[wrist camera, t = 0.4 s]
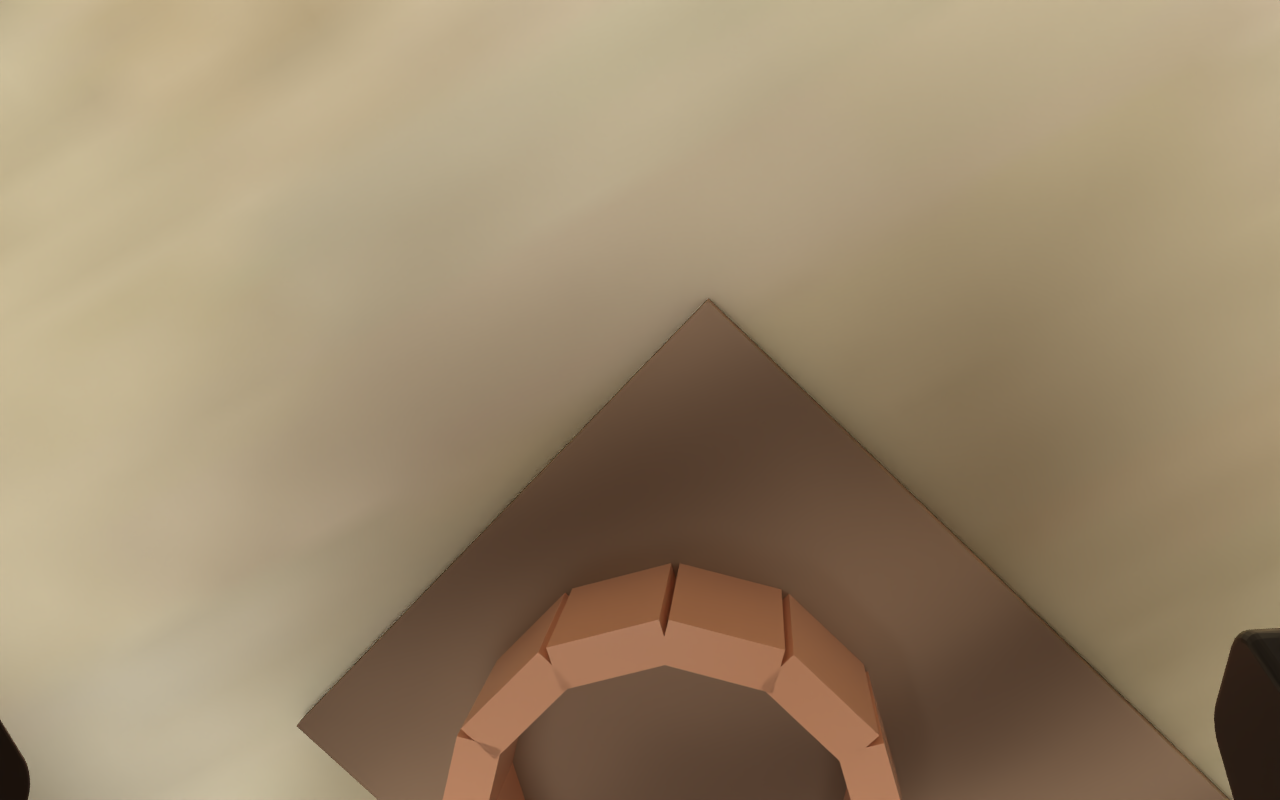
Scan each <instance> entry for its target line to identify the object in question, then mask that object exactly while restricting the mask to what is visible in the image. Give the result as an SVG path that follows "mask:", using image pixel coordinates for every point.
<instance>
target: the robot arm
mask: <svg viewBox="0 0 1280 800" xmlns="http://www.w3.org/2000/svg"><path fill="white" fill-rule="evenodd" d="M1214 722H1215V732H1216V738H1217V742H1218V746H1219V750H1220V753H1221V756H1222V760H1223V763H1224V767H1225V770H1226V774H1227V777H1228V781H1229V784H1230V788H1231V791H1232V795H1233V798H1234V800H1280V628H1272V629H1253V630H1246V631H1242V632H1241V633H1240V634H1239V635H1238V636H1237V637H1236V638H1235V639H1234V642H1233V644H1232V646H1231V650H1230V654H1229V657H1228V661H1227V665H1226V668H1225V672H1224V676H1223V679H1222V683H1221V687H1220V690H1219V694H1218V698H1217V701H1216V706H1215V714H1214ZM29 788H30V777H29V770H28V766H27V763H26V761H25V759H24V757H23V756H22V754H21V752H20V751H19V749H18V748H17V746H16V744H15V743H14V741H13V739H12V738H11V736H10V735H9V733H8V731H7V730H6V728H5V726H4V725H3V723H2V722H1V720H0V800H28V796H29Z"/></svg>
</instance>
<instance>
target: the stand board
mask: <svg viewBox="0 0 1280 800" xmlns="http://www.w3.org/2000/svg"><path fill="white" fill-rule="evenodd" d="M670 563H671V564H672V568H673V571H674V574H675V578H676V576H677V572H678V568H679V564H680V563H681V564H685V565H689V566H693V567H696V568H700V569H704V570H708V571H712V572H716V573H720V574H724V575H727V576H731V577H735V578H739V579H743V580H747V581H751V582H755V583H758V584H762V585H766V586H770V587H774V588H778V589H781V590H782V600H783V599H784V598H785V597H786V596H787V595H788V594H790V595H791V596H792V597H793V598H794V599H795V600H796V601H797V602H798V603H799V604H801V605H802V606H803V607H804V608H805V609H806V610H807V611H808V612H809V613H810V614H811V615H812V616H813V617H814V618H815V619H816V620H817V621H819V622H820V623H821V624H822V625H823V626H824V627H825V628H826V629H827V630H828V631H829V632H830V633H831V634H832V635H833V636H834V637H835V638H836V639H838V640H839V641H840V642H841V643H842V644H843V645H844V646H845V647H846V648H847V649H848V650H849V651H850V652H851V653H852V654H853V655H854V656H855V657H857V658H858V659H859V660H860V661H861V662H862V663H863V664H864V668H865V672H868V673H869V676H870V680H871V683H872V687H873V691H874V694H875V698H876V701H877V705H878V708H879V712H880V715H881V719H882V723H883V726H884V730H885V733H886V737H887V740H888V744H889V748H890V751H891V755H892V758H893V762H894V765H895V770H896V774H897V778H898V782H899V787H900V791H901V795H902V800H1229V799H1228V798H1227V797H1226V796H1225V795H1224V794H1223V793H1222V792H1221V791H1220V790H1219V789H1218V788H1217V787H1216V786H1215V785H1214V784H1213V783H1212V782H1211V781H1210V780H1209V779H1208V778H1207V777H1206V776H1205V775H1203V774H1202V773H1201V772H1200V771H1199V770H1198V769H1197V768H1196V767H1195V766H1194V765H1193V764H1192V763H1191V762H1190V761H1189V760H1188V759H1187V758H1186V757H1185V756H1184V755H1183V754H1182V753H1181V752H1180V751H1179V750H1177V749H1176V748H1175V747H1174V746H1173V745H1172V744H1171V743H1170V742H1169V741H1168V740H1167V739H1166V738H1165V737H1164V736H1163V735H1162V734H1161V733H1160V732H1159V731H1158V730H1157V729H1156V728H1155V727H1154V726H1153V725H1151V724H1150V723H1149V722H1148V721H1147V720H1146V719H1145V718H1144V717H1143V716H1142V715H1141V714H1140V713H1139V712H1138V711H1137V710H1136V709H1135V708H1134V707H1133V706H1132V705H1131V704H1130V703H1129V702H1128V701H1127V700H1125V699H1124V698H1123V697H1122V696H1121V695H1120V694H1119V693H1118V692H1117V691H1116V690H1115V689H1114V688H1113V687H1112V686H1111V685H1110V684H1109V683H1108V682H1107V681H1106V680H1105V679H1104V678H1103V677H1102V676H1101V675H1099V674H1098V673H1097V672H1096V671H1095V670H1094V669H1093V668H1092V667H1091V666H1090V665H1089V664H1088V663H1087V662H1086V661H1085V660H1084V659H1083V658H1082V657H1081V656H1080V655H1079V654H1078V653H1077V652H1076V651H1075V650H1073V649H1072V648H1071V647H1070V646H1069V645H1068V644H1067V643H1066V642H1065V641H1064V640H1063V639H1062V638H1061V637H1060V636H1059V635H1058V634H1057V633H1056V632H1055V631H1054V630H1053V629H1052V628H1051V627H1050V626H1049V625H1047V624H1046V623H1045V622H1044V621H1043V620H1042V619H1041V618H1040V617H1039V616H1038V615H1037V614H1036V613H1035V612H1034V611H1033V610H1032V609H1031V608H1030V607H1029V606H1028V605H1027V604H1026V603H1025V602H1024V601H1023V600H1021V599H1020V598H1019V597H1018V596H1017V595H1016V594H1015V593H1014V592H1013V591H1012V590H1011V589H1010V588H1009V587H1008V586H1007V585H1006V584H1005V583H1004V582H1003V581H1002V580H1001V579H1000V578H999V577H998V576H997V575H995V574H994V573H993V572H992V571H991V570H990V569H989V568H988V567H987V566H986V565H985V564H984V563H983V562H982V561H981V560H980V559H979V558H978V557H977V556H976V555H975V554H974V553H973V552H972V551H971V550H969V549H968V548H967V547H966V546H965V545H964V544H963V543H962V542H961V541H960V540H959V539H958V538H957V537H956V536H955V535H954V534H953V533H952V532H951V531H950V530H949V529H948V528H947V527H946V526H945V525H943V524H942V523H941V522H940V521H939V520H938V519H937V518H936V517H935V516H934V515H933V514H932V513H931V512H930V511H929V510H928V509H927V508H926V507H925V506H924V505H923V504H922V503H921V502H920V501H919V500H917V499H916V498H915V497H914V496H913V495H912V494H911V493H910V492H909V491H908V490H907V489H906V488H905V487H904V486H903V485H902V484H901V483H900V482H899V481H898V480H897V479H896V478H895V477H894V476H893V475H891V474H890V473H889V472H888V471H887V470H886V469H885V468H884V467H883V466H882V465H881V464H880V463H879V462H878V461H877V460H876V459H875V458H874V457H873V456H872V455H871V454H870V453H869V452H868V451H867V450H865V449H864V448H863V447H862V446H861V445H860V444H859V443H858V442H857V441H856V440H855V439H854V438H853V437H852V436H851V435H850V434H849V433H848V432H847V431H846V430H845V429H844V428H843V427H842V426H841V425H839V424H838V423H837V422H836V421H835V420H834V419H833V418H832V417H831V416H830V415H829V414H828V413H827V412H826V411H825V410H824V409H823V408H822V407H821V406H820V405H819V404H818V403H817V402H816V401H815V400H813V399H812V398H811V397H810V396H809V395H808V394H807V393H806V392H805V391H804V390H803V389H802V388H801V387H800V386H799V385H798V384H797V383H796V382H795V381H794V380H793V379H792V378H791V377H790V376H789V375H787V374H786V373H785V372H784V371H783V370H782V369H781V368H780V367H779V366H778V365H777V364H776V363H775V362H774V361H773V360H772V359H771V358H770V357H769V356H768V355H767V354H766V353H765V352H764V351H763V350H761V349H760V348H759V347H758V346H757V345H756V344H755V343H754V342H753V341H752V340H751V339H750V338H749V337H748V336H747V335H746V334H745V333H744V332H743V331H742V330H741V329H740V328H739V327H738V326H737V325H735V324H734V323H733V322H732V321H731V320H730V319H729V318H728V317H727V316H726V315H725V314H724V313H723V312H722V311H721V310H720V309H719V308H718V307H717V306H716V305H715V304H714V303H713V302H712V301H711V300H709V299H708V300H707V301H706V302H705V303H704V304H703V305H702V306H701V307H700V308H699V309H698V310H697V311H696V312H695V313H694V314H693V315H692V316H691V317H690V318H689V319H688V320H687V321H686V322H685V323H684V324H683V325H682V326H681V327H680V328H679V330H678V331H677V332H676V333H675V334H674V335H673V336H672V337H671V338H670V339H669V340H668V341H667V342H666V343H665V344H664V345H663V346H662V347H661V348H660V349H659V350H658V351H657V352H656V353H655V354H654V355H653V356H652V357H651V358H650V360H649V361H648V362H647V363H646V364H645V365H644V366H643V367H642V368H641V369H640V370H639V371H638V372H637V373H636V374H635V375H634V376H633V377H632V378H631V379H630V380H629V381H628V382H627V383H626V384H625V385H624V386H623V387H622V388H621V390H620V391H619V392H618V393H617V394H616V395H615V396H614V397H613V398H612V399H611V400H610V401H609V402H608V403H607V404H606V405H605V406H604V407H603V408H602V409H601V410H600V411H599V412H598V413H597V414H596V415H595V416H594V417H593V418H592V420H591V421H590V422H589V423H588V424H587V425H586V426H585V427H584V428H583V429H582V430H581V431H580V432H579V433H578V434H577V435H576V436H575V437H574V438H573V439H572V440H571V441H570V442H569V443H568V444H567V445H566V446H565V447H564V448H563V450H562V451H561V452H560V453H559V454H558V455H557V456H556V457H555V458H554V459H553V460H552V461H551V462H550V463H549V464H548V465H547V466H546V467H545V468H544V469H543V470H542V471H541V472H540V473H539V474H538V475H537V476H536V477H535V478H534V480H533V481H532V482H531V483H530V484H529V485H528V486H527V487H526V488H525V489H524V490H523V491H522V492H521V493H520V494H519V495H518V496H517V497H516V498H515V499H514V500H513V501H512V502H511V503H510V504H509V505H508V506H507V507H506V508H505V510H504V511H503V512H502V513H501V514H500V515H499V516H498V517H497V518H496V519H495V520H494V521H493V522H492V523H491V524H490V525H489V526H488V527H487V528H486V529H485V530H484V531H483V532H482V533H481V534H480V535H479V536H478V537H477V538H476V540H475V541H474V542H473V543H472V544H471V545H470V546H469V547H468V548H467V549H466V550H465V551H464V552H463V553H462V554H461V555H460V556H459V557H458V558H457V559H456V560H455V561H454V562H453V563H452V564H451V565H450V566H449V567H448V568H447V570H446V571H445V572H444V573H443V574H442V575H441V576H440V577H439V578H438V579H437V580H436V581H435V582H434V583H433V584H432V585H431V586H430V587H429V588H428V589H427V590H426V591H425V592H424V593H423V594H422V595H421V596H420V597H419V598H418V600H417V601H416V602H415V603H414V604H413V605H412V606H411V607H410V608H409V609H408V610H407V611H406V612H405V613H404V614H403V615H402V616H401V617H400V618H399V619H398V620H397V621H396V622H395V623H394V624H393V625H392V626H391V627H390V628H389V630H388V631H387V632H386V633H385V634H384V635H383V636H382V637H381V638H380V639H379V640H378V641H377V642H376V643H375V644H374V645H373V646H372V647H371V648H370V649H369V650H368V651H367V652H366V653H365V654H364V655H363V656H362V657H361V658H360V660H359V661H358V662H357V663H356V664H355V665H354V666H353V667H352V668H351V669H350V670H349V671H348V672H347V673H346V674H345V675H344V676H343V677H342V678H341V679H340V680H339V681H338V682H337V683H336V684H335V685H334V686H333V687H332V688H331V690H330V691H329V692H328V693H327V694H326V695H325V696H324V697H323V698H322V699H321V700H320V701H319V702H318V703H317V704H316V705H315V706H314V707H313V708H312V709H311V710H310V711H309V712H308V713H307V714H306V715H305V716H304V718H303V719H302V720H301V721H300V722H299V724H298V725H297V727H298V728H299V729H301V730H302V731H303V732H304V733H305V734H306V735H307V736H308V737H309V738H310V739H312V740H313V741H314V742H315V743H316V744H317V745H318V746H319V747H320V748H321V749H323V750H324V751H325V752H326V753H327V754H328V755H329V756H330V757H331V758H333V759H334V760H335V761H336V762H337V763H338V764H339V765H340V766H341V767H342V768H344V769H345V770H346V771H347V772H348V773H349V774H350V775H351V776H352V777H353V778H355V779H356V780H357V781H358V782H359V783H360V784H361V785H362V786H363V787H364V788H366V789H367V790H368V791H369V792H370V793H371V794H372V795H373V796H374V797H376V798H377V799H378V800H443V796H444V791H445V787H446V782H447V778H448V773H449V769H450V765H451V760H452V756H453V751H454V747H455V742H456V738H457V735H458V733H459V731H460V729H461V727H462V726H463V724H464V722H465V720H466V718H467V716H468V714H469V712H470V710H471V709H472V707H473V705H474V703H475V701H476V699H477V697H478V695H479V693H480V692H481V690H482V688H483V686H484V684H485V682H486V680H487V678H488V676H489V675H490V673H491V671H492V669H493V667H494V665H495V664H496V662H497V660H498V659H499V658H500V657H501V656H502V655H503V654H504V653H505V652H506V651H507V650H508V649H509V648H510V647H511V646H512V645H513V644H514V643H515V642H516V641H517V640H518V639H519V638H520V637H521V636H522V635H523V634H524V633H525V632H526V631H527V630H528V629H529V628H530V627H531V626H532V625H533V624H534V623H535V622H536V621H537V620H538V619H539V618H540V617H541V616H542V615H543V614H544V613H545V612H546V611H547V610H548V609H549V608H550V607H551V606H552V605H553V604H554V603H555V602H556V601H557V600H558V599H559V598H560V597H561V596H562V595H563V594H564V593H566V594H567V595H568V596H569V595H570V593H571V590H572V588H576V587H580V586H584V585H588V584H592V583H596V582H600V581H603V580H607V579H611V578H615V577H619V576H623V575H627V574H631V573H635V572H639V571H642V570H646V569H650V568H654V567H658V566H662V565H666V564H670ZM513 765H514V768H515V771H516V774H517V777H518V780H519V783H520V786H521V789H522V792H523V795H524V798H525V800H843V799H844V796H845V792H846V789H847V785H846V782H845V778H844V775H843V771H842V768H841V764H840V761H839V760H838V759H837V758H836V757H835V756H834V755H833V754H832V753H831V752H829V751H828V750H827V749H826V748H825V747H824V746H823V745H822V744H821V743H820V742H819V741H818V740H817V739H816V738H815V737H813V736H812V735H811V734H810V733H809V732H808V731H807V730H806V729H805V728H804V727H803V726H802V725H801V724H800V723H799V722H797V721H796V720H795V719H794V718H793V717H792V716H791V715H790V714H789V713H788V712H787V711H786V710H785V709H784V708H783V707H781V706H780V705H779V704H778V703H777V702H776V701H775V700H774V699H773V698H772V697H771V696H770V695H769V694H768V693H767V692H765V691H762V690H758V689H754V688H750V687H746V686H743V685H739V684H735V683H731V682H727V681H724V680H720V679H716V678H712V677H708V676H705V675H701V674H697V673H693V672H689V671H685V670H682V669H678V668H674V667H670V666H666V665H663V666H659V667H655V668H651V669H647V670H643V671H639V672H635V673H631V674H626V675H622V676H618V677H614V678H610V679H606V680H602V681H598V682H594V683H590V684H586V685H581V686H577V687H573V688H569V689H567V690H566V691H565V692H564V693H563V694H562V695H561V696H559V697H558V698H557V699H556V700H555V701H554V702H553V703H552V704H551V705H550V706H549V707H548V708H547V709H546V710H545V711H544V712H543V713H542V714H541V715H540V716H539V717H538V718H537V719H536V720H535V721H534V722H533V723H532V724H531V725H530V726H529V727H528V728H527V729H526V730H525V731H524V732H523V733H522V734H521V735H520V736H519V737H518V741H517V745H516V750H515V754H514V758H513Z"/></svg>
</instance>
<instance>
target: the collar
mask: <svg viewBox="0 0 1280 800" xmlns="http://www.w3.org/2000/svg"><path fill="white" fill-rule="evenodd" d="M663 665H666V666H670V667H674V668H678V669H682V670H685V671H689V672H693V673H697V674H701V675H705V676H708V677H712V678H716V679H720V680H724V681H727V682H731V683H735V684H739V685H743V686H746V687H750V688H754V689H758V690H762V691H765V692H767V693H768V694H769V695H770V696H771V697H772V698H773V699H774V700H775V701H776V702H777V703H778V704H779V705H780V706H781V707H783V708H784V709H785V710H786V711H787V712H788V713H789V714H790V715H791V716H792V717H793V718H794V719H795V720H796V721H797V722H799V723H800V724H801V725H802V726H803V727H804V728H805V729H806V730H807V731H808V732H809V733H810V734H811V735H812V736H813V737H815V738H816V739H817V740H818V741H819V742H820V743H821V744H822V745H823V746H824V747H825V748H826V749H827V750H828V751H829V752H831V753H832V754H833V755H834V756H835V757H836V758H837V759H838V760H839V761H840V764H841V768H842V771H843V775H844V778H845V782H846V785H847V789H846V792H845V796H844V799H843V800H902V795H901V791H900V787H899V782H898V778H897V774H896V770H895V765H894V762H893V758H892V755H891V751H890V748H889V744H888V740H887V737H886V733H885V730H884V726H883V723H882V719H881V715H880V712H879V708H878V705H877V701H876V698H875V694H874V691H873V687H872V683H871V680H870V676H869V673H868V672H865V668H864V664H863V663H862V662H861V661H860V660H859V659H858V658H857V657H855V656H854V655H853V654H852V653H851V652H850V651H849V650H848V649H847V648H846V647H845V646H844V645H843V644H842V643H841V642H840V641H839V640H838V639H836V638H835V637H834V636H833V635H832V634H831V633H830V632H829V631H828V630H827V629H826V628H825V627H824V626H823V625H822V624H821V623H820V622H819V621H817V620H816V619H815V618H814V617H813V616H812V615H811V614H810V613H809V612H808V611H807V610H806V609H805V608H804V607H803V606H802V605H801V604H799V603H798V602H797V601H796V600H795V599H794V598H793V597H792V596H791V595H790V594H788V595H787V596H786V597H785V598H784V599H783V600H782V590H781V589H778V588H774V587H770V586H766V585H762V584H758V583H755V582H751V581H747V580H743V579H739V578H735V577H731V576H727V575H724V574H720V573H716V572H712V571H708V570H704V569H700V568H696V567H693V566H689V565H685V564H681V563H680V564H679V568H678V572H677V576H676V578H675V574H674V571H673V568H672V564H671V563H670V564H666V565H662V566H658V567H654V568H650V569H646V570H642V571H639V572H635V573H631V574H627V575H623V576H619V577H615V578H611V579H607V580H603V581H600V582H596V583H592V584H588V585H584V586H580V587H576V588H572V590H571V593H570V595H569V596H568V595H567V594H566V593H564V594H563V595H562V596H561V597H560V598H559V599H558V600H557V601H556V602H555V603H554V604H553V605H552V606H551V607H550V608H549V609H548V610H547V611H546V612H545V613H544V614H543V615H542V616H541V617H540V618H539V619H538V620H537V621H536V622H535V623H534V624H533V625H532V626H531V627H530V628H529V629H528V630H527V631H526V632H525V633H524V634H523V635H522V636H521V637H520V638H519V639H518V640H517V641H516V642H515V643H514V644H513V645H512V646H511V647H510V648H509V649H508V650H507V651H506V652H505V653H504V654H503V655H502V656H501V657H500V658H499V659H498V660H497V662H496V664H495V665H494V667H493V669H492V671H491V673H490V675H489V676H488V678H487V680H486V682H485V684H484V686H483V688H482V690H481V692H480V693H479V695H478V697H477V699H476V701H475V703H474V705H473V707H472V709H471V710H470V712H469V714H468V716H467V718H466V720H465V722H464V724H463V726H462V727H461V729H460V731H459V733H458V735H457V738H456V742H455V747H454V751H453V756H452V760H451V765H450V769H449V773H448V778H447V782H446V787H445V791H444V796H443V800H525V798H524V795H523V792H522V789H521V786H520V783H519V780H518V777H517V774H516V771H515V768H514V765H513V758H514V754H515V750H516V745H517V741H518V737H519V736H520V735H521V734H522V733H523V732H524V731H525V730H526V729H527V728H528V727H529V726H530V725H531V724H532V723H533V722H534V721H535V720H536V719H537V718H538V717H539V716H540V715H541V714H542V713H543V712H544V711H545V710H546V709H547V708H548V707H549V706H550V705H551V704H552V703H553V702H554V701H555V700H556V699H557V698H558V697H559V696H561V695H562V694H563V693H564V692H565V691H566V690H567V689H569V688H573V687H577V686H581V685H586V684H590V683H594V682H598V681H602V680H606V679H610V678H614V677H618V676H622V675H626V674H631V673H635V672H639V671H643V670H647V669H651V668H655V667H659V666H663Z"/></svg>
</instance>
